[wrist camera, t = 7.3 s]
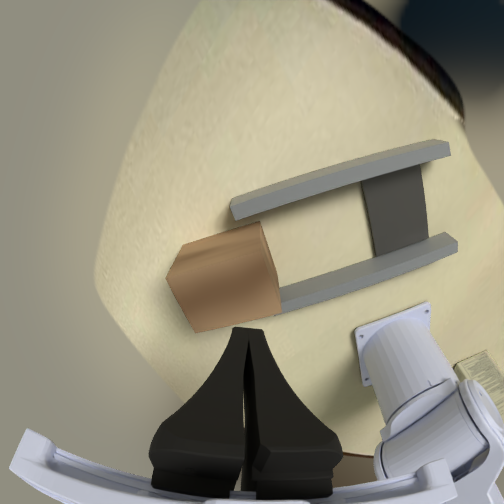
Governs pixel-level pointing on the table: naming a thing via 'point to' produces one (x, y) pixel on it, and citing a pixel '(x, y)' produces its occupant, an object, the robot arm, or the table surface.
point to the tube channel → (379, 212)
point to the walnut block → (226, 279)
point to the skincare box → (484, 376)
